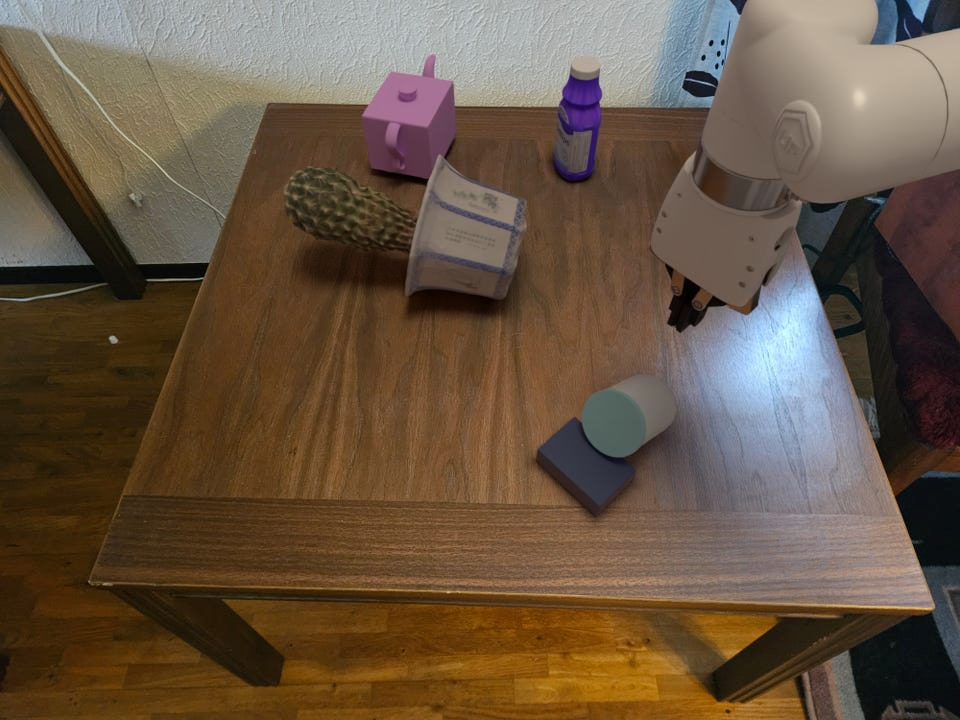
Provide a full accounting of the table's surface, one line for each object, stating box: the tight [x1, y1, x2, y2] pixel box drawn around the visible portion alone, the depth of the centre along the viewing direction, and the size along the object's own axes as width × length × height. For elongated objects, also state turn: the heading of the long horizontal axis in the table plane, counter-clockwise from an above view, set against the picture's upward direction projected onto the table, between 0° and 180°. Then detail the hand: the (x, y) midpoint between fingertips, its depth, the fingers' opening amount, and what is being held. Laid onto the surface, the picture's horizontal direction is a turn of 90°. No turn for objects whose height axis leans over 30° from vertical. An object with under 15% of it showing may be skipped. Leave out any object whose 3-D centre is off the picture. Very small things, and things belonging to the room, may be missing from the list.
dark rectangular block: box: [535, 416, 638, 518], centre depth 69 cm, size 9×6×3 cm, turn 43°
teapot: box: [361, 54, 457, 180], centre depth 98 cm, size 20×10×12 cm, turn 164°
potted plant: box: [282, 155, 529, 301], centre depth 81 cm, size 18×18×30 cm
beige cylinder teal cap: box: [581, 373, 677, 458], centre depth 69 cm, size 10×7×10 cm
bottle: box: [553, 55, 603, 182], centre depth 93 cm, size 7×6×17 cm
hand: (682, 320), depth 61 cm, fingers closed
